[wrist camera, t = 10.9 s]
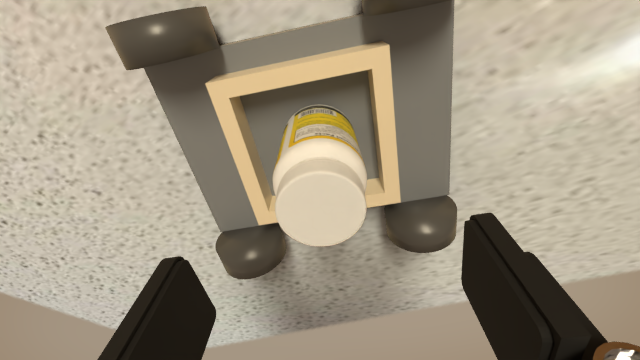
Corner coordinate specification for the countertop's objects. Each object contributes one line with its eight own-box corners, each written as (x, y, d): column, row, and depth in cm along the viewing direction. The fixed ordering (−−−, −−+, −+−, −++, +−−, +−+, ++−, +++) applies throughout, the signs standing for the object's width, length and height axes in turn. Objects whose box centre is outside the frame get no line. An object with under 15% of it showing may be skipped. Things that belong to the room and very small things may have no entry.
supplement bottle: (319, 180, 22) (319, 269, 15) (268, 138, 20) (241, 214, 13) (369, 136, 20) (398, 212, 13) (319, 86, 18) (320, 140, 11)
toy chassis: (444, -47, 16) (490, -65, 12) (441, 204, 25) (468, 246, 21) (138, 24, 18) (81, 31, 14) (233, 238, 26) (217, 283, 22)
